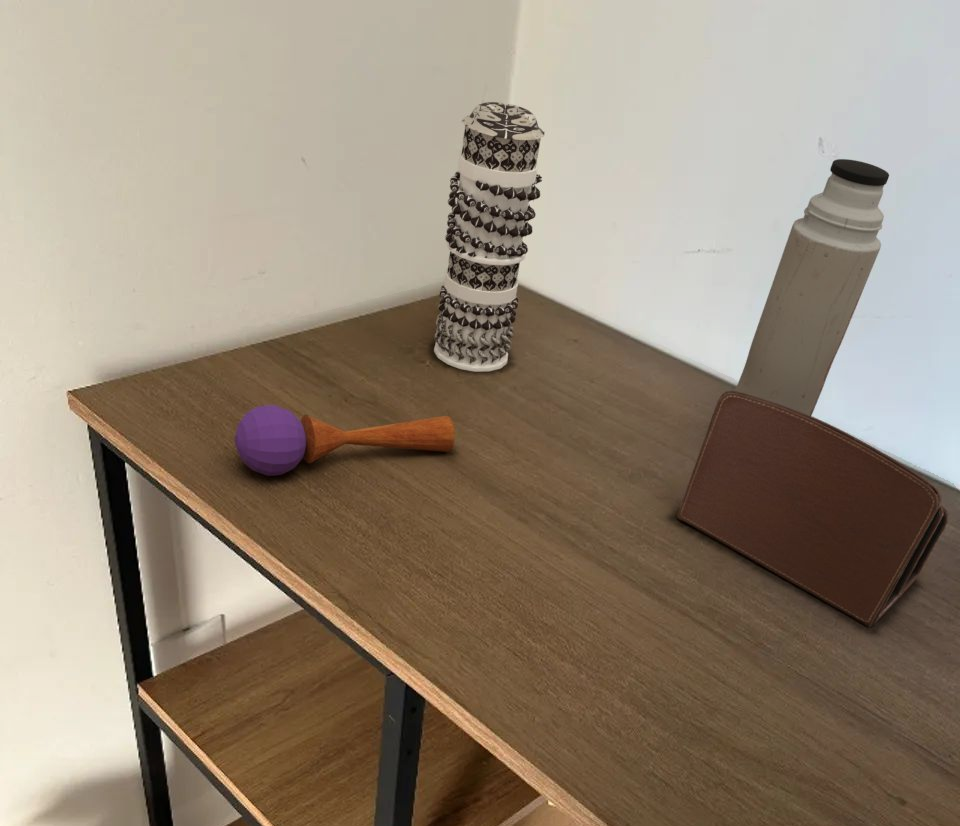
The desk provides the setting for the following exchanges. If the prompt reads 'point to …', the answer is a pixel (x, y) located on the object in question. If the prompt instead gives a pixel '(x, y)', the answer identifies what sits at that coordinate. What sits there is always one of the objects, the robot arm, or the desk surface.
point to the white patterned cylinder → (487, 235)
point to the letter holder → (813, 505)
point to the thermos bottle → (816, 288)
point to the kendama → (325, 438)
